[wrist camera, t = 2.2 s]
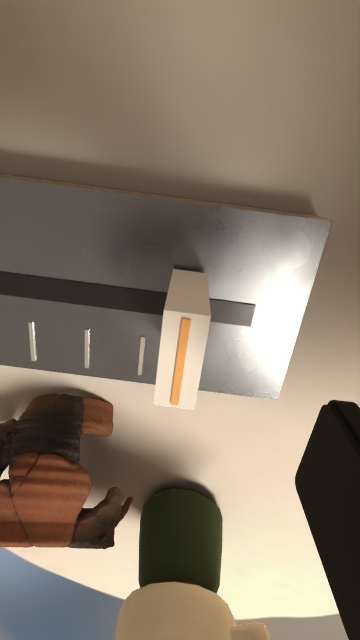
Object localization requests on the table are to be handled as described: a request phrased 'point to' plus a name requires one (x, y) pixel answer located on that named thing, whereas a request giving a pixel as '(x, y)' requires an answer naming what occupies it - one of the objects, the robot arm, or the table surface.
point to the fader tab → (183, 340)
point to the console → (149, 281)
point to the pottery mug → (55, 476)
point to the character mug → (181, 575)
